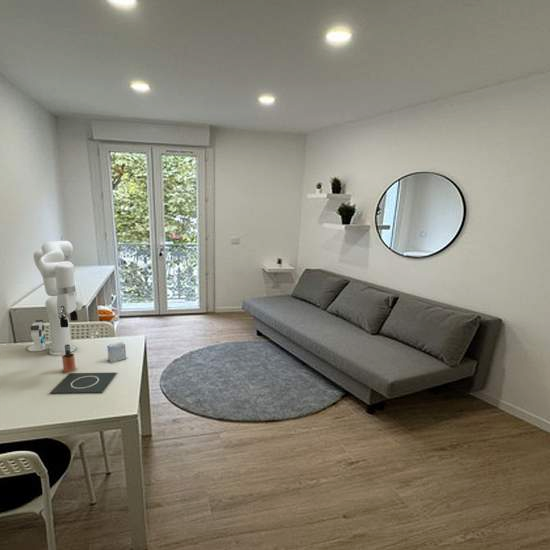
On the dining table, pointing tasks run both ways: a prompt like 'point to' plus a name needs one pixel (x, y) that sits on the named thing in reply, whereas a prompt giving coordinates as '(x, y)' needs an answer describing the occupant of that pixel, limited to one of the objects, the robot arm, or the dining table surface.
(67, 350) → the cylinder
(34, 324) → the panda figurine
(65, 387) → the slate board
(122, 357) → the medicine box
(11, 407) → the dining table surface
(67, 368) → the pen cup
